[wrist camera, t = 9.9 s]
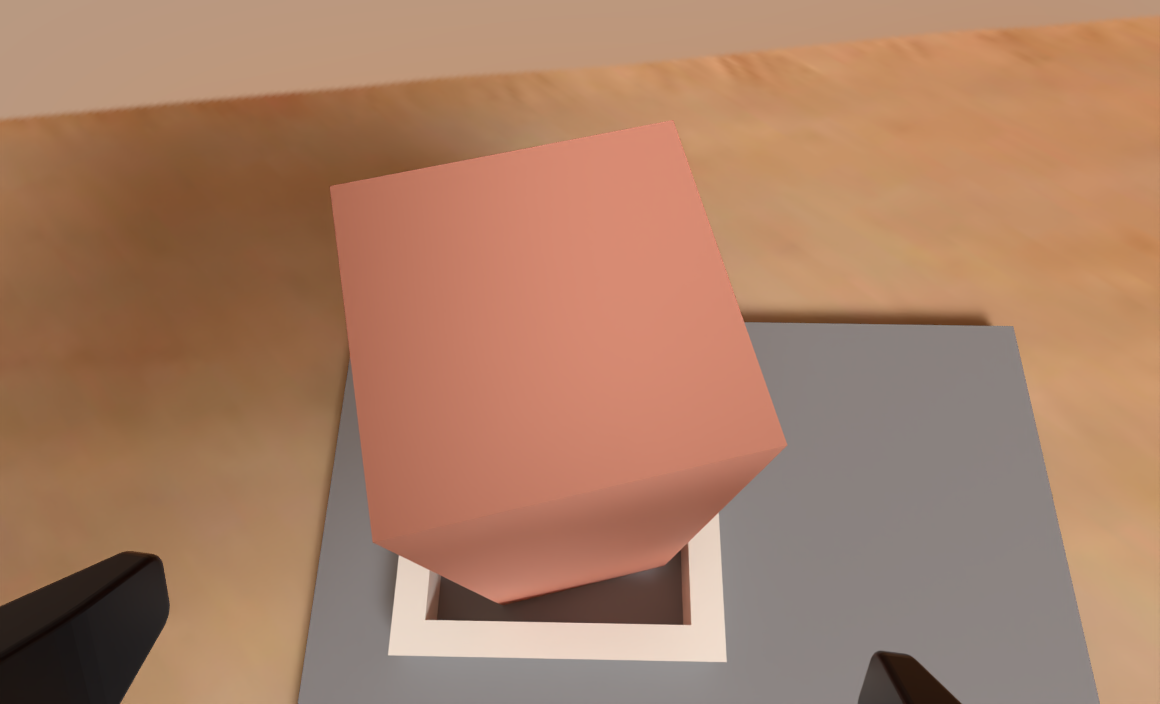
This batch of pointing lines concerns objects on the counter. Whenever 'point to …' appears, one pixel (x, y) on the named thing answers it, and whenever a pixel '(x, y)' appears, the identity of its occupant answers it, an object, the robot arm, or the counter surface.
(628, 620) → the grey base plate
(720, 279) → the red post
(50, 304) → the counter surface
